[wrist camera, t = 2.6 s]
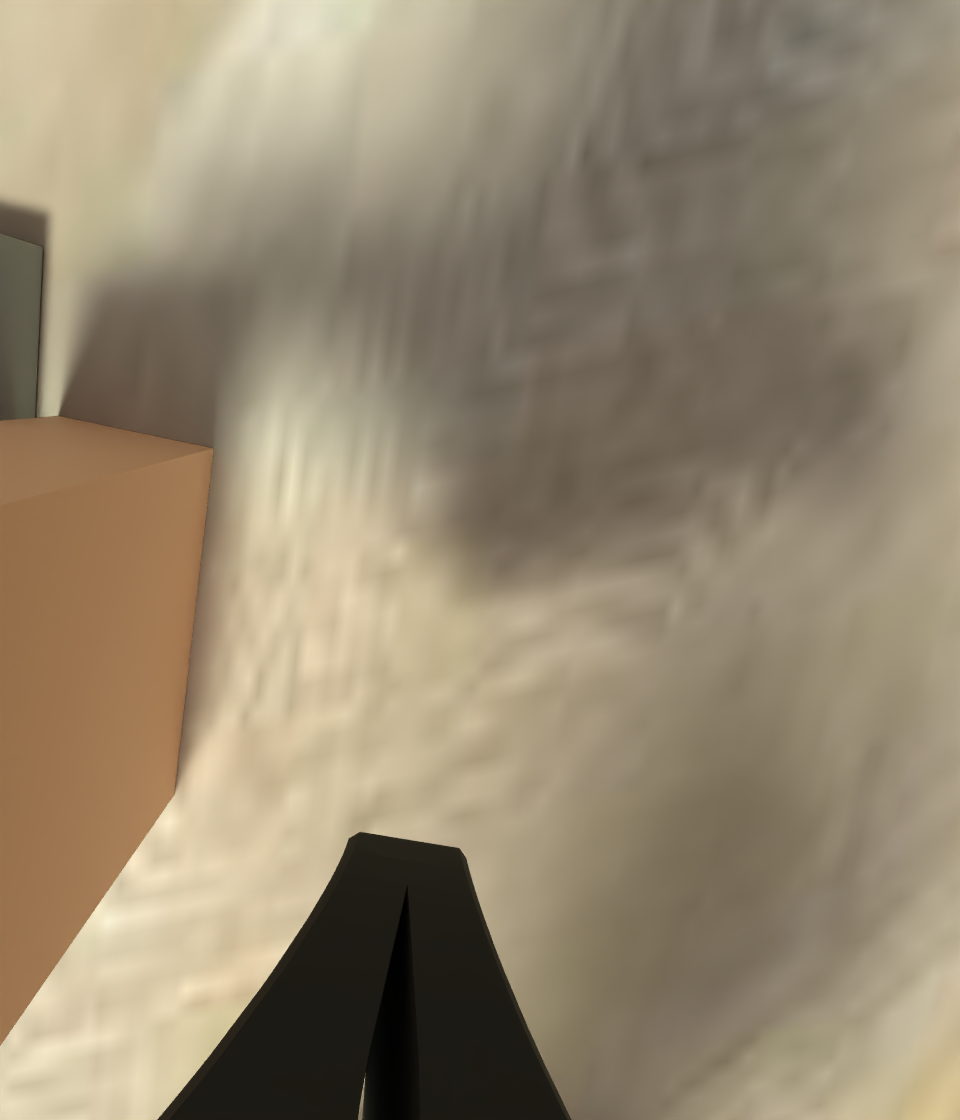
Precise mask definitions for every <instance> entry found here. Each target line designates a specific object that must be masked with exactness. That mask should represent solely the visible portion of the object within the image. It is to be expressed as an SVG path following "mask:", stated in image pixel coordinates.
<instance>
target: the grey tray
mask: <svg viewBox="0 0 960 1120" xmlns="http://www.w3.org/2000/svg"><path fill="white" fill-rule="evenodd" d="M42 253H43V247H41V246H38V245H35V244H32V243H29V242H26V241H23V240H20V239H16V238H13V237H10V236H7V235H4V234H1V233H0V421H3V420H15V419H28V418H35V406H36V384H37V362H38V340H39V318H40V297H41V275H42Z"/></svg>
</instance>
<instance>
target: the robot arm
mask: <svg viewBox="0 0 960 1120" xmlns="http://www.w3.org/2000/svg"><path fill="white" fill-rule="evenodd" d="M365 1072H366V1073H365ZM364 1078H365V1088H364V1103H363V1118H362V1120H571V1118H570V1116H569V1114H568V1112H567V1110H566V1108H565V1106H564V1104H563V1101H562V1099H561V1097H560V1095H559V1093H558V1091H557V1089H556V1087H555V1085H554V1083H553V1081H552V1079H551V1077H550V1075H549V1072H548V1070H547V1068H546V1066H545V1064H544V1062H543V1060H542V1058H541V1055H540V1053H539V1051H538V1049H537V1047H536V1044H535V1042H534V1040H533V1038H532V1036H531V1033H530V1031H529V1029H528V1027H527V1024H526V1022H525V1020H524V1017H523V1015H522V1012H521V1010H520V1008H519V1005H518V1003H517V1001H516V998H515V996H514V993H513V991H512V989H511V986H510V984H509V981H508V979H507V977H506V974H505V972H504V969H503V967H502V964H501V962H500V959H499V957H498V954H497V951H496V949H495V946H494V944H493V941H492V938H491V935H490V932H489V930H488V927H487V924H486V921H485V919H484V916H483V913H482V910H481V907H480V904H479V901H478V898H477V895H476V892H475V888H474V885H473V882H472V878H471V875H470V871H469V868H468V864H467V860H466V857H465V856H464V854H463V853H462V851H461V850H460V848H455V847H449V846H443V845H437V844H431V843H424V842H418V841H412V840H406V839H400V838H394V837H388V836H381V835H375V834H369V833H363V832H359V833H357V834H356V835H354V836H352V837H351V838H349V840H348V843H347V845H346V848H345V851H344V853H343V856H342V858H341V860H340V862H339V864H338V866H337V868H336V870H335V872H334V874H333V876H332V878H331V880H330V882H329V883H328V885H327V887H326V889H325V891H324V892H323V894H322V896H321V897H320V899H319V901H318V902H317V904H316V906H315V907H314V909H313V911H312V912H311V914H310V916H309V917H308V919H307V921H306V922H305V924H304V925H303V927H302V928H301V930H300V931H299V933H298V934H297V936H296V937H295V939H294V940H293V942H292V943H291V945H290V946H289V948H288V949H287V951H286V952H285V954H284V955H283V957H282V958H281V960H280V961H279V963H278V964H277V966H276V967H275V969H274V970H273V972H272V973H271V974H270V976H269V977H268V979H267V980H266V982H265V983H264V984H263V986H262V987H261V988H260V990H259V991H258V992H257V994H256V995H255V996H254V998H253V999H252V1000H251V1002H250V1003H249V1004H248V1006H247V1007H246V1008H245V1010H244V1011H243V1012H242V1014H241V1015H240V1016H239V1018H238V1019H237V1020H236V1022H235V1023H234V1024H233V1026H232V1027H231V1028H230V1030H229V1031H228V1032H227V1034H226V1035H225V1036H224V1038H223V1039H222V1040H221V1041H220V1043H219V1044H218V1045H217V1047H216V1048H215V1049H214V1051H213V1052H212V1053H211V1055H210V1056H209V1057H208V1059H207V1060H206V1061H205V1062H204V1064H203V1065H202V1066H201V1067H200V1069H199V1070H198V1071H197V1072H196V1074H195V1075H194V1076H193V1077H192V1078H191V1080H190V1081H189V1082H188V1083H187V1085H186V1086H185V1087H184V1088H183V1090H182V1091H181V1092H180V1093H179V1094H178V1096H177V1097H176V1098H175V1099H174V1101H173V1102H172V1103H171V1104H170V1105H169V1107H168V1108H167V1109H166V1110H165V1111H164V1113H163V1114H162V1115H161V1116H160V1117H159V1119H158V1120H358V1114H359V1106H360V1100H361V1094H362V1089H363V1083H364Z"/></svg>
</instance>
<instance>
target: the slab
mask: <svg viewBox="0 0 960 1120" xmlns="http://www.w3.org/2000/svg"><path fill="white" fill-rule="evenodd" d="M213 452H214V448H209V447H204V446H200V445H195V444H190V443H185V442H180V441H176V440H171V439H166V438H161V437H157V436H152V435H147V434H142V433H137V432H133V431H128V430H123V429H118V428H113V427H109V426H104V425H99V424H94V423H89V422H85V421H80V420H75V419H70V418H65V417H61V416H52V417H40V418H28V419H15V420H3V421H0V1045H1V1044H2V1043H3V1041H4V1040H5V1038H6V1037H7V1035H8V1034H9V1032H10V1031H11V1030H12V1028H13V1027H14V1025H15V1024H16V1022H17V1021H18V1019H19V1018H20V1017H21V1015H22V1014H23V1012H24V1011H25V1009H26V1008H27V1006H28V1005H29V1004H30V1002H31V1001H32V999H33V998H34V996H35V995H36V993H37V992H38V991H39V989H40V988H41V986H42V985H43V983H44V982H45V980H46V979H47V978H48V976H49V975H50V973H51V972H52V970H53V969H54V968H55V966H56V965H57V963H58V962H59V960H60V959H61V957H62V956H63V955H64V953H65V952H66V950H67V949H68V947H69V946H70V944H71V943H72V942H73V940H74V939H75V937H76V936H77V934H78V933H79V931H80V930H81V929H82V927H83V926H84V924H85V923H86V921H87V920H88V918H89V917H90V916H91V914H92V913H93V911H94V910H95V908H96V907H97V905H98V904H99V903H100V901H101V900H102V898H103V897H104V895H105V894H106V892H107V891H108V890H109V888H110V887H111V885H112V884H113V882H114V881H115V880H116V878H117V877H118V875H119V874H120V872H121V871H122V869H123V868H124V867H125V865H126V864H127V862H128V861H129V859H130V858H131V856H132V855H133V854H134V852H135V851H136V849H137V848H138V846H139V845H140V843H141V842H142V841H143V839H144V838H145V836H146V835H147V833H148V832H149V830H150V829H151V828H152V826H153V825H154V823H155V822H156V820H157V819H158V817H159V816H160V815H161V813H162V812H163V810H164V809H165V807H166V806H167V804H168V803H169V802H170V800H171V799H172V797H173V796H174V793H175V784H176V776H177V767H178V758H179V749H180V741H181V732H182V723H183V714H184V706H185V697H186V688H187V679H188V671H189V662H190V653H191V644H192V636H193V627H194V618H195V609H196V600H197V592H198V583H199V574H200V565H201V557H202V548H203V539H204V530H205V522H206V513H207V504H208V495H209V487H210V478H211V469H212V460H213Z"/></svg>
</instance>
